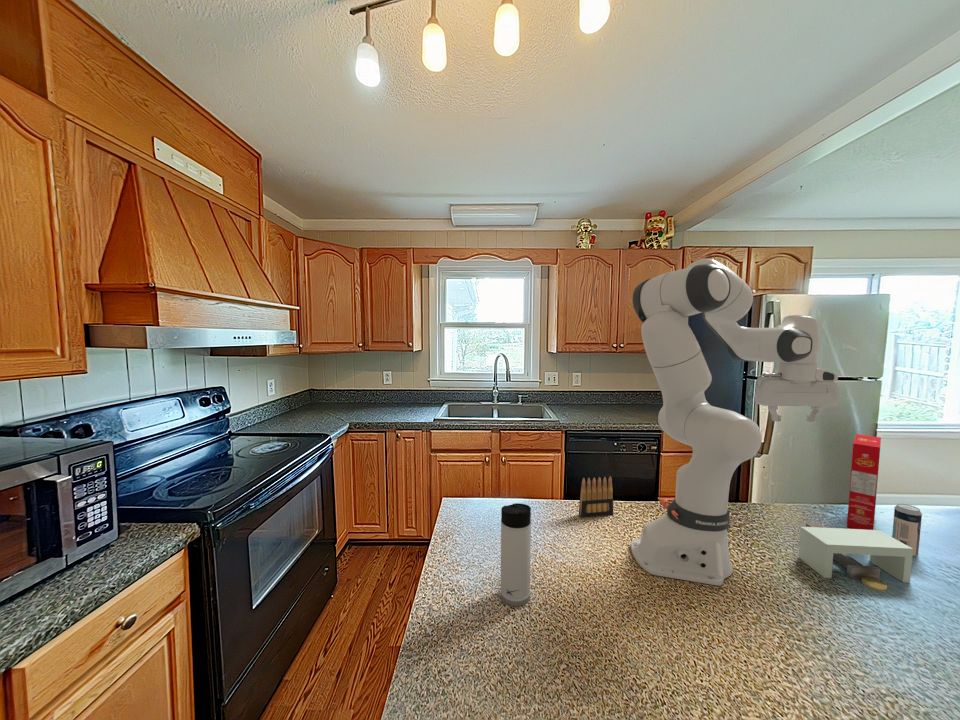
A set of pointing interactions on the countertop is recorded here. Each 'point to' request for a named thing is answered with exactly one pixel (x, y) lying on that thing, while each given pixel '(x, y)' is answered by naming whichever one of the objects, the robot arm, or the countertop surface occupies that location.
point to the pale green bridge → (854, 549)
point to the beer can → (907, 526)
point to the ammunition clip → (596, 498)
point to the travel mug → (515, 554)
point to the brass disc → (874, 583)
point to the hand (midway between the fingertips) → (793, 421)
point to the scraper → (852, 563)
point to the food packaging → (863, 482)
